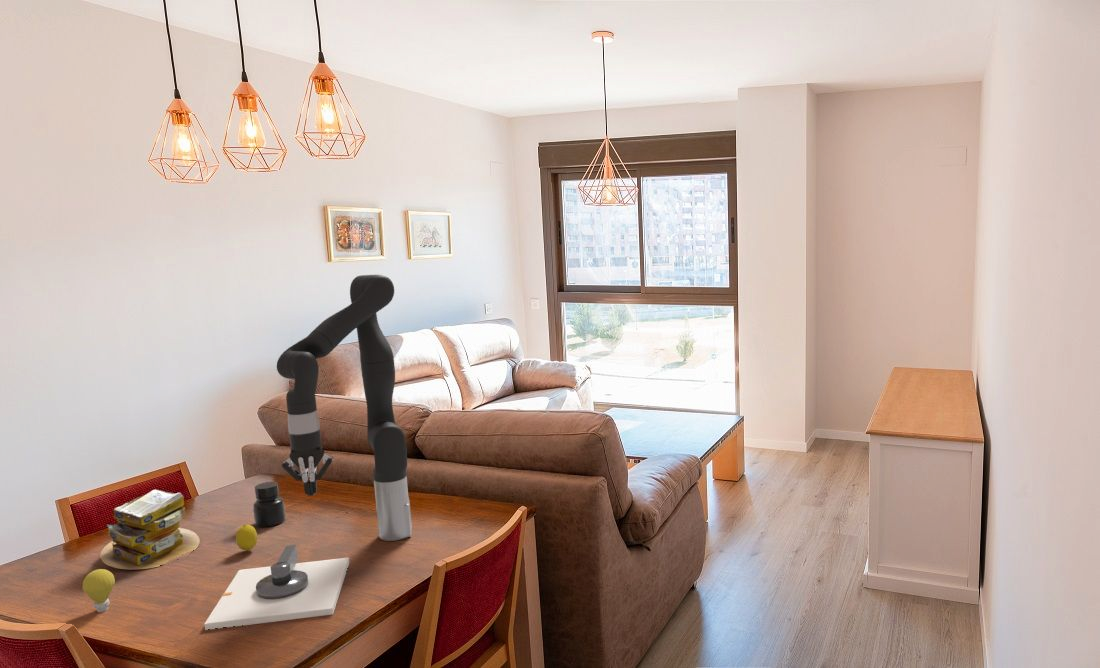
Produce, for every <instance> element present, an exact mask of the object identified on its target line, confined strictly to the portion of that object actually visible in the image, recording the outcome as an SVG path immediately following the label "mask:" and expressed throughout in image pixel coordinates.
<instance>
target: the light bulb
mask: <svg viewBox="0 0 1100 668" xmlns="http://www.w3.org/2000/svg"><path fill="white" fill-rule="evenodd" d="M115 583H116V580H115V576H114V574H113V573H112V572H111V571H109V570H108V569H103V568H99V569H95V570H92V571H91V572H89V573H88V574H87V575H86V576H85V578H84V579H83V581H82V590H83V592H84V593H85V594H86V595H87V596H88V598H90V599H91V600H92V601H93V602H94V603H93V607H94V609H96V612H98V613H102V612H105V611H107V610H108V609H109V605H110V599H109V597H110V595H111V594H112V593H111V592H112V591H113V588H114V585H115Z"/></svg>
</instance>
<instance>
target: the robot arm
mask: <svg viewBox="0 0 1100 668" xmlns="http://www.w3.org/2000/svg"><path fill="white" fill-rule="evenodd" d="M394 286H395V285H394V283H393V281H392V280H391V278H390V277H388V276H387V275H383V274H364V275H356V277H354V278H353V279H352V280H351V284H350V287H349V296H350V302H351V303H350V304H349V305H347V306H346V307H344V308H343V309H341V310H339V311H337V312H335V313H333V314H332V315H331V316H329V317H327V318H325V319H324V320H323V321H322V322H321V323H319V324H318V326H317V327H315V328H314V329H313V330H312V331H311V332H310V333H309V334H308V335H307V336H306V337H304V338H302V339H301V340H299V341H298V342H295V343H294V344H292V345H291V346H290V347H288V348H286V349H285V350H284V351H283V352H282V353H281V354H280V355H279V357H278V359H277V362H276V371H277V373H278V374H279V375H280V377H283V378H284V379H289V380H294V384H293V388H292V389H290V390H288V391H287V392H286V396H285V397H286V400H285V401H286V409H287V410H286V411H287V430H288V438H289V444H290V445H289V446H290V453H289V455H288V458H287V459H286V460H284V461H283V462H282V464H281V467H282V468H283V469H284V470H285V471H286V472H287V473H288V475H290V476H291V477H292V478H293V479H294V480H295V481H296V482H300V481H301V482H302V483H303V489H304V490H303V491H304V494H305V495H307V497H314V496H315V495H316V494H317V492H318V482H317V481H318V480H319V479H322V477H323V476H324V474H325V472H326V471H327V470H328V468H329V467H330V466H331V464H332V462H333V460H334V457H333V456H332V455H328V454H326V453H325V449H323V447H322V446H323V445H322V436H321V427H320V425H321V424H320V419H319V414H318V413H319V412H318V408H317V400H316V392H317V385H318V379H319V364H318V360H317V359H321V358H325V357H327V356H328V355H329V354H330V353H331V352H332V351H333V350H334V349H336V347H338V345H339V344H340V343H341V342H342V341H343V340H344V339H345V338H347V337H348V335H350V334H351V333H352V332H353V331H354V330H356V332H357V333H356V334H357V340H358V341H357V342H358V348H359V356H360V357H359V358H360V359H359V361H360V362H359V363H360V371H361V378H362V385H363V391H364V397H365V401H366V411H367V412H366V413H367V414H366V415H367V416H366V419H367V421H366V422H367V426H366V427H367V428H366V429H367V430H366V431H367V433H366V434H367V435H366V436H367V441H368V442H367V443H368V444H369V445H368V446H369V447H370V448H371V449H372V450H373V456H374V469H373V471H372V473H373V474H372V475H373V487H374V496H375V497H374V498H375V506H376V517H377V527H378V538H379V539H380V540H382V541H386V542H387V541H388V542H391V541H392V542H394V541H399V540H403V539H406V538H409V537H410V538H411V537H412V532H413V524H412V514H411V502H410V498H409V492H408V491H409V489H408V477H407V468H408V456H407V455H408V451H407V440H406V435H405V432H404V431H403V429H401V428H400V427H399V426H398V425H397V423H396V420H395V415H394V413H395V412H394V409H393V395H394V390H395V382H396V366H395V359H394V357H395V356H394V352H393V349H392V347H391V345H390V343H389V341H388V340H387V338H386V336H385V334H384V333H383V331H382V330H381V328H380V324H379V322H378V320H379V319H378V315H377V313H378V312H380V311H381V310H383V309H384V308H385V307H387V306H388V305H389V304H390V303H391V302H392V300H393V298H394V296H395V287H394ZM321 460H322V464H323V465H322V467H321V468H320V470H319V472H317V467H318V465H319V463H320V462H321ZM295 466H296V467H297V468H298V469H299V470H300V471H299V470H298V469H297V468H296V467H295Z"/></svg>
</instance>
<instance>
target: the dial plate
mask: <svg viewBox="0 0 1100 668" xmlns="http://www.w3.org/2000/svg"><path fill="white" fill-rule="evenodd" d="M271 566H272V565H270V566H262V567H253V568H252V567H251V568H245V569H239V570H238V571H237V573H236V574H235V576H234V577H233V579H232V581H230V583H229V585H228V586H227V588H226V589H225V591H224V592H223V594H222V596H221V597H220V598H219V601H218V602H217V604H216V605H215V607H214V608H213V610H212V612H211V613H210V614H209V616H208V618H207V619H206V620H205V622H204V631H209V630H208V629H210V630H216V629H215V628H218V629H224V628H223V627H227V628H233V626H235V627H241V626H242V625H243V626H249V625H257V624H259V625H260V624H267V623H275V622H283V621H289V620H291V621H292V620H298V619H307V618H315V617H323V616H332V615H334V612H335V609H336V605H337V602H338V600H339V596H340V593H341V591H342V588H343V584H344V581H345V578H346V575H347V572H346V571H348V569H347V568H349V566H350V557H342V558H333V559H324V560H314V561H307V562H305V561H304V562H296V564H295V566H294V568H293V570H298V571H303V572H305V573H306V574H307V575H308V585H307V586H306V587H305V588H304V589H303V590H301V591H300V592H298V593H296V594H293V595H291V596H287V597H283V598H277V599H265V598H261V597H259V596H258V595H257V593H256V584H257V583H258V582H259V581H260V580H261V579H263V578H265V577H267V576H269V575H271Z"/></svg>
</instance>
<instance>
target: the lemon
mask: <svg viewBox="0 0 1100 668" xmlns="http://www.w3.org/2000/svg"><path fill="white" fill-rule="evenodd" d="M235 536H236V537H235V540H236V541H235V542H236V546H238V547H239V549H240V550H243V551H246V552H247V551H248V552H250V551H251V550H252V549H253V548H255V547H256V544H257V543H258V533H257V530H256V529H255V527H254V526H253V525H251V524H247V523H244V524H243V525H242V526H240V527H239V528H238V530H237V531H236V535H235Z"/></svg>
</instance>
